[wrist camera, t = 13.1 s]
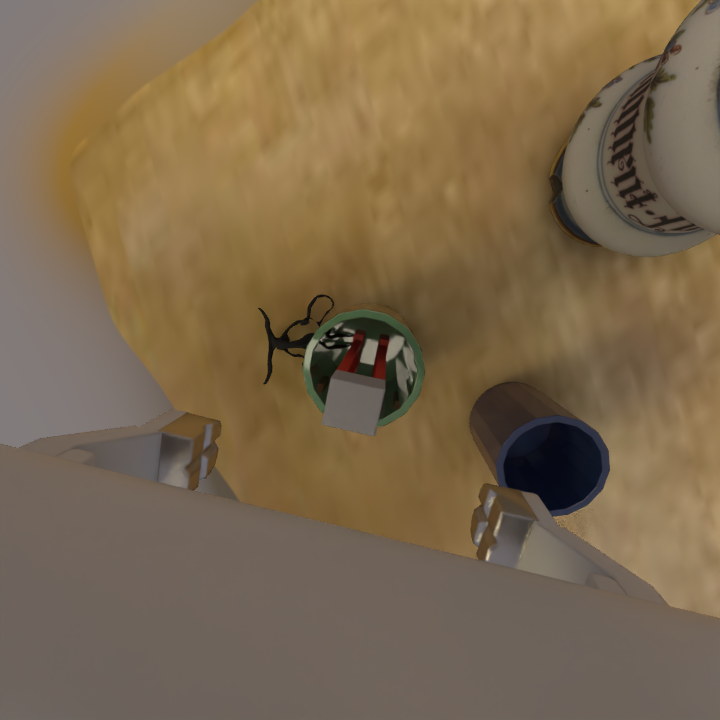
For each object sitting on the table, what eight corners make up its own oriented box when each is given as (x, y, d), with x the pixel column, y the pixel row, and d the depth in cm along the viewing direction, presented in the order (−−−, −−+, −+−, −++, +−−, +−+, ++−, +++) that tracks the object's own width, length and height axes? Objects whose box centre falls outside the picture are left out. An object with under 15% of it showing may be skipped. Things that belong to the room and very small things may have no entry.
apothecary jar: (522, 122, 30) (719, -114, 12) (686, 80, 28) (1174, -255, 11) (543, 276, 32) (735, 265, 14) (696, 242, 30) (1117, 185, 13)
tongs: (357, 328, 33) (328, 368, 17) (389, 335, 33) (390, 382, 17) (349, 363, 34) (316, 432, 18) (381, 370, 34) (376, 445, 18)
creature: (352, 293, 34) (262, 295, 33) (361, 295, 29) (254, 296, 28) (353, 377, 36) (267, 382, 35) (362, 393, 30) (261, 399, 29)
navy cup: (481, 374, 34) (514, 405, 25) (563, 391, 34) (625, 430, 25) (460, 449, 35) (484, 503, 27) (538, 466, 35) (588, 527, 26)
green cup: (336, 294, 33) (314, 298, 24) (422, 313, 33) (437, 324, 23) (320, 377, 35) (294, 413, 25) (402, 396, 35) (408, 439, 25)
